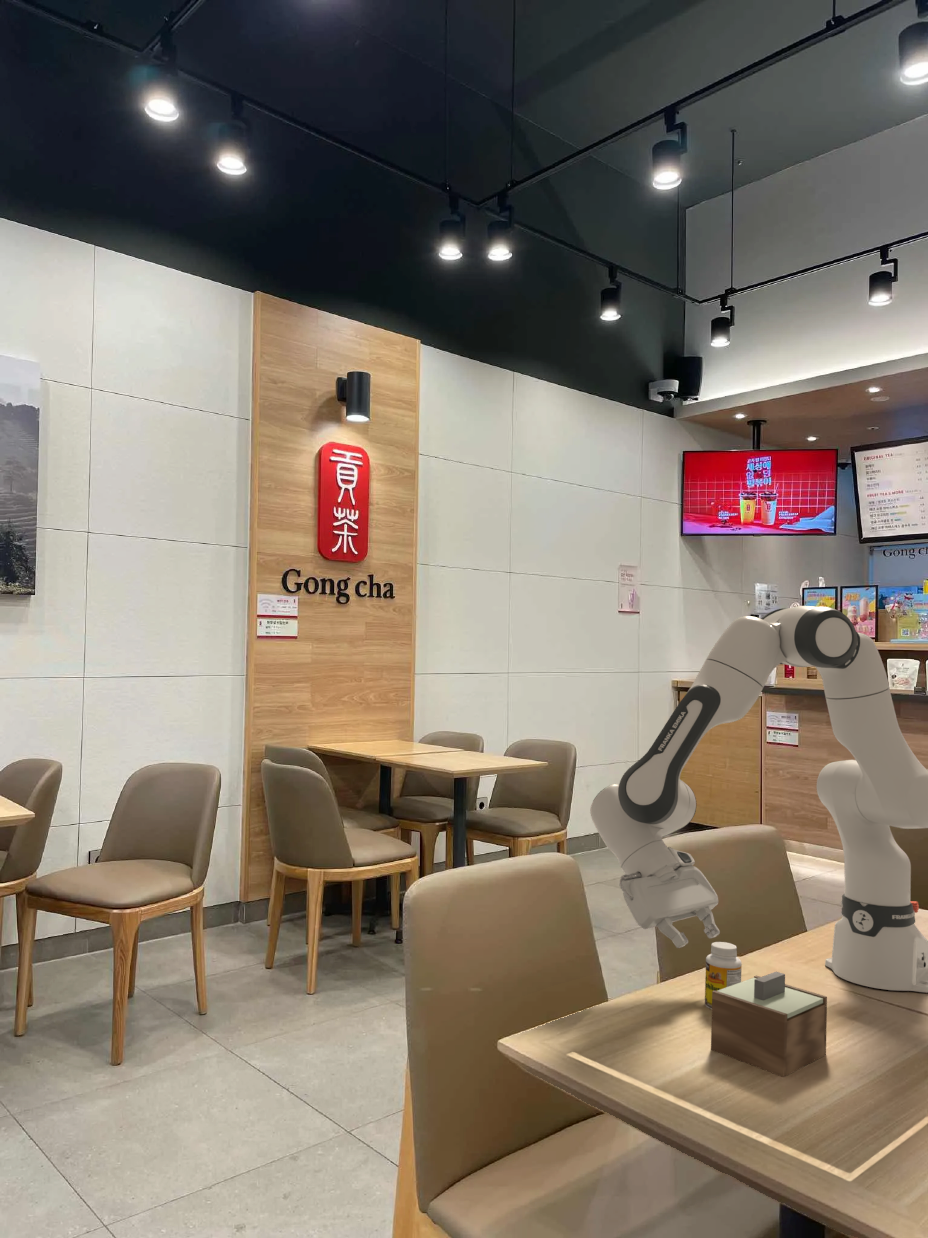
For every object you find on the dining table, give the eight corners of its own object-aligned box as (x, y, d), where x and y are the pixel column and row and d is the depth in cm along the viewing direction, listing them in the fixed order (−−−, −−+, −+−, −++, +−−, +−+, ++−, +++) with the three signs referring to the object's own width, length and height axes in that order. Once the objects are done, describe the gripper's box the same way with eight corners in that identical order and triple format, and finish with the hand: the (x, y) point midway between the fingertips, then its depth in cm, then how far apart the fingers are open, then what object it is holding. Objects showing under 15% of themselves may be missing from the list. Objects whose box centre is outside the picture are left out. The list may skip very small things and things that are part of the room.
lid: (753, 981, 136) (753, 960, 136) (822, 1003, 128) (823, 980, 128) (716, 995, 129) (717, 973, 129) (787, 1018, 121) (788, 995, 121)
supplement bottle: (697, 1005, 148) (699, 941, 148) (727, 1002, 149) (729, 939, 150) (717, 1017, 142) (718, 951, 143) (747, 1015, 144) (749, 949, 145)
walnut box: (755, 1034, 136) (756, 975, 137) (825, 1059, 128) (827, 996, 129) (710, 1053, 128) (712, 991, 129) (783, 1081, 120) (784, 1015, 121)
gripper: (626, 865, 149) (675, 940, 141) (695, 853, 163) (744, 920, 155) (604, 888, 152) (650, 962, 144) (674, 873, 166) (720, 941, 158)
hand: (699, 940), depth 150 cm, fingers open, 8 cm apart
